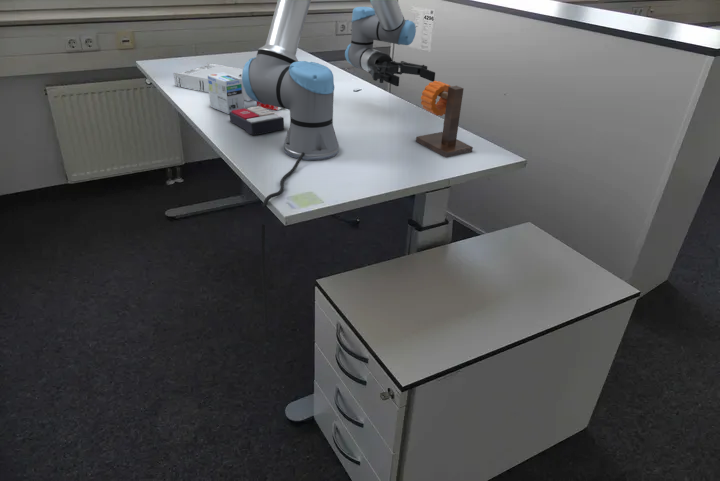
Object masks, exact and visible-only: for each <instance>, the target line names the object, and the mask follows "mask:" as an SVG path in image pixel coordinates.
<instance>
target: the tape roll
mask: <svg viewBox="0 0 720 481" xmlns="http://www.w3.org/2000/svg"><path fill="white" fill-rule="evenodd" d="M451 86H452V85H450V84H448V83H445V82H442V81H440V80H434V81H433V82H432V81H430V82H428V85H426V86H425V87H424V89H423V91H422V92H421V96H420V101H421V102H420V105H421V106H422V109H423V110H425V111H426V112H428V113H430V114H432V115H434V116H436V117H438V116H440V117H442V116H444V115H445V110H446V103H447V100H446V99H444V98H442V97H439V96H438V95H439V94H440V93H441V92H443V91H446V92H448V87H451ZM438 97H439V99H438ZM437 99H438V101H437Z"/></svg>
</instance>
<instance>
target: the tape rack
mask: <svg viewBox="0 0 720 481" xmlns="http://www.w3.org/2000/svg"><path fill="white" fill-rule="evenodd" d="M450 86H451V87H448V92H446V91H443V92H441V93H440V94H439V95H438V96H437V97H439V98H440V97H442V98H444V99H446V100H447V103H446V110H445V114H444V119H443V126H442V131H440V132H434V133H428V134H423V135H417V136H416V137H415V142H416V143H418V144H420V145H422V146H424V147H425V148H427V149H429V150H430V151H433V152H434V153H437V154H438V155H440V156H442V157H443V158H449V157H450V158H451V157H453V156H459V155H463V154H468V153H472V152H473V148H474V147H473V146H472V145H469V144H467V143H465V142H464V141H461V140H460V139H457V137H458V132H459V125H460V116H461V109H462V104H463V97H464V96H463V95H464V87H461V86H458V85H450Z"/></svg>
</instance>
